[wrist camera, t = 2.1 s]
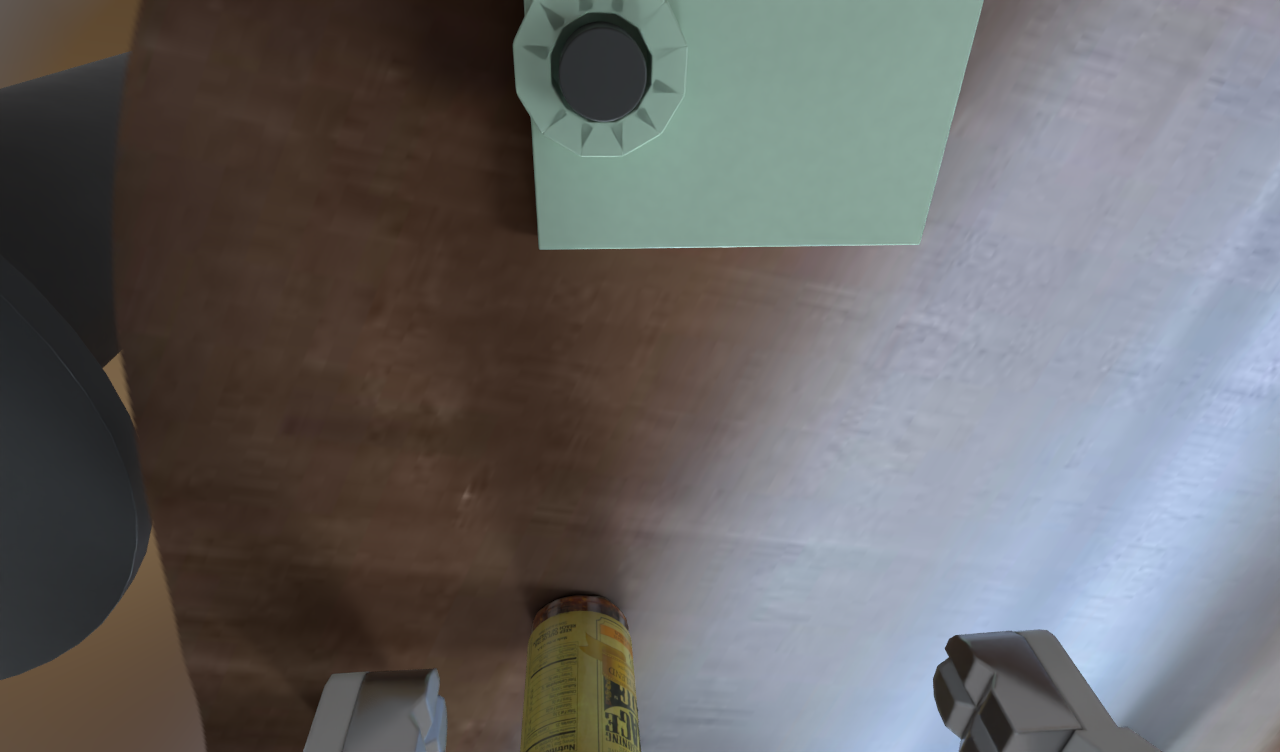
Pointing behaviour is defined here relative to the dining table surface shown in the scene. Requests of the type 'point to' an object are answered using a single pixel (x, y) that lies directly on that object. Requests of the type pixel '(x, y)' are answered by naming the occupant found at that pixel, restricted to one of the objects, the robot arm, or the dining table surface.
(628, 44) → the button
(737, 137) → the green panel with knob
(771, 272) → the dining table surface
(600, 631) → the sauce bottle
